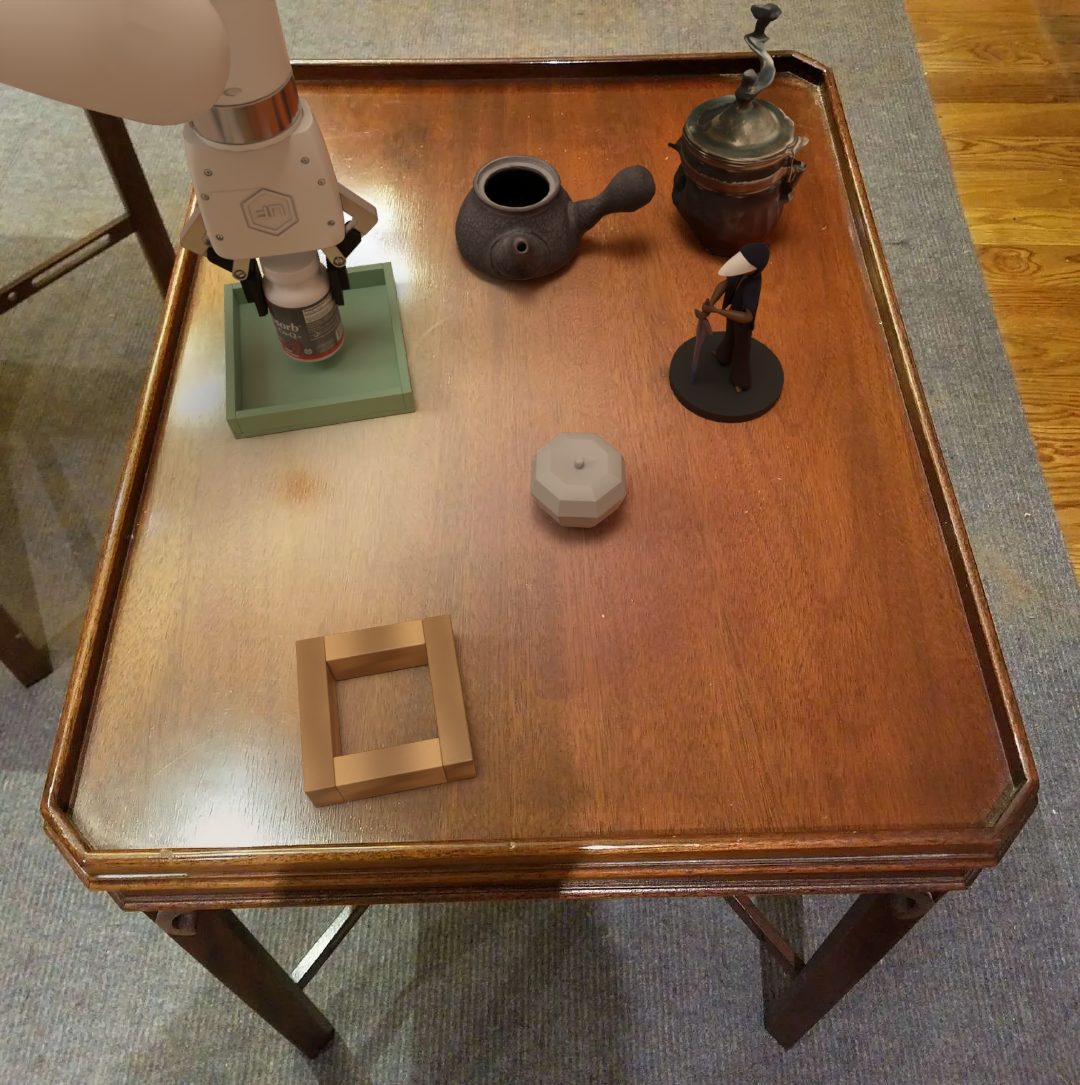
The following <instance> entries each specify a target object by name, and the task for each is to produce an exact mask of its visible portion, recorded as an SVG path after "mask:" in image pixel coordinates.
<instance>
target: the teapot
mask: <svg viewBox="0 0 1080 1085" xmlns="http://www.w3.org/2000/svg"><path fill="white" fill-rule="evenodd" d="M472 179H473V181H472V187H471V188H470V190H469V191H468V192H467V193H466V196H465V197H464V199H463V201H462V202H461V206H460V207H459V210H458V213H457V216H456V219H455V226H454V235H455V236H454V237H455V241H456V245H457V248H458V250H459V253H460V255H461V256H462V258H463V259H464V260H465V261H466V262H467V263H468V264H469V266H471V267H473V269H475V270H476V271H479V272H482V273H484V274H486V275H488V276H491V277H494V278H497V279H504V280H511V281H526V280H532V279H537V278H541V277H544V276H548V275H550V274H553V273H555V272H557V271H558V270H560V269H562V268H563V267H564V266H565V265H567V264H568V263H569V262H570V261H571V260H572V259H573V257H574V256H575V254H576V252H577V251H578V249H579V247H580V244H581V241H582V238H583V236H584V235H585V234H586V233H587V232H589V231H590V230H591V229H593V228H594V227H595V226H596V225H597V224H598V223H599V222H600V221H601V220H602V219H603V218H604V217H606V216H608V215H611V214H618V213H620V214H621V213H626V214H627V213H635V212H637V211H638V210H640V209H642V208H644V207H646V206H647V205H648V204H649V203H651V201H652V199H653V198H654V196H655V195H656V191H657V190H656V189H657V187H656V182H655V180H654V177H653V174H652V172H651V171H650V170H649V169H648V168H647V167H646V166H643V165H642V164H635V165H630V166H627V167H625V168H623V169H621V170H619V171H618V172H617V173H616V174H615V175H614V176H613V177H612V178H611V180H610V182H609V183H608V184H607V186H606V187H605V188H604V189H603V190H602V191H601V192H600V193H599V194H597V195H596V196H594V197H591V198H585V199H580V200H577V201H575V202H574V201H573V199H572V198H571V196H570V195H569V193H568V191H567V190H566V189H565V188H564V186H562V180H561V176H560V174H559V172H558V170H557V169H556V168H555V167H554V166H553V165H552V164H550V163H549V162H548V161H546V160H543V159H541V158H539V157H537V156H532V155H529V154H507V155H502V156H498V157H495V158H493V159H490V160H489V161H488V162H486V163H485V164H483V165H481V166H480V167H479V169H478V170H476V173H475V174H474V177H473V178H472Z"/></svg>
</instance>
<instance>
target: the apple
mask: <svg viewBox="0 0 1080 1085" xmlns="http://www.w3.org/2000/svg"><path fill="white" fill-rule="evenodd" d="M530 468H531V469H530V486H529V487H530V488H529V492H530V496H531V497H532V498H533V500H534V503H535V504H536V505H537V506H538V507H539V508H541V509H542V510H543V511H544V512H545V513H546V514H547V515H549V516H550V517H551V518H552V519H553V520H554V521H555V522H557V523H558V524H559V525H560V526H562V527H563V528H564V527H566V528H586V529H587V528H589V529H590V528H593V527H596V526H597V525H598V524H599V523H601V522H602V521H603V520H605V519H606V518H608V516H610V515H611V514H612V513H614V512H615V511H616V510H618V509H619V508H620V506H621V504H622V503H623V501H624V500H625V498H626V496H627V480H626V479H627V478H626V477H627V475H626V473H627V472H626V471H627V470H626V462H625V459H624V457H623V454H622V453H621V452H620V450H618V449H617V448H616V447H615V446H613V445H612V444H611V443H609V442H608V441H607V440H606V439H605V438H603V437H602V436H601V435H599V434H598V433H597V432H595V433H594V432H572V431H571V432H569V431H568V432H567V431H562V432H561V433H559V434H558V435H556V436H555V437H554V438H552V439H551V440H550V441H548V442H547V443H546V444H544V445H543V446H541V447H540V448H539V449H537V450H536V452H535V454H534V455H533V458H532V460H531V467H530Z"/></svg>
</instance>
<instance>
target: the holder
mask: <svg viewBox="0 0 1080 1085" xmlns="http://www.w3.org/2000/svg"><path fill="white" fill-rule="evenodd" d="M455 640H456V639H455V634H454V628H453V624H452V619H451V615H450V614H443V615H437V616H432V617H426V618H422V619H414V620H409V621H404V622H397V623H392V624H386V625H381V626H375V627H370V628H369V627H368V628H363V629H357V630H352V631H347V632H340V633H334V634H329V635H328V634H327V635H322V636H317V637H311V638H305V639H300V640H295V658H296V674H297V689H298V690H297V691H298V707H299V724H300V742H301V758H302V759H301V760H302V774H303V790H304V791H303V792H304V794H305V795H306V797H307V798H308V799H309V800H310V801H311V803H312V804H313V806H314V807H315V808H322V807H327V806H331V805H337V804H342V803H346V802H352V801H357V800H363V799H367V798H372V797H373V798H374V797H379V796H383V795H389V794H393V793H398V792H404V791H409V790H414V789H420V788H425V787H430V786H434V785H435V786H436V785H440V784H445V783H451V782H456V781H460V780H465V779H471V778H472V779H473V778H476V777H477V770H476V764H475V758H474V751H473V744H472V740H471V733H470V727H469V720H468V715H467V709H466V701H465V695H464V690H463V683H462V678H461V671H460V665H459V659H458V651H457V646H456V641H455ZM426 665H428V670H429V678H430V684H431V692H432V698H433V705H434V712H435V719H436V726H437V727H436V728H437V734H438V737H433V738H429V739H425V740H418V741H413V742H408V743H402V744H397V745H392V746H386V747H382V748H375V749H372V750H366V751H360V752H355V753H350V754H344V755H342V745H341V733H340V720H339V710H338V697H337V686H336V684H337V683H336V681H337V682H338V681H342V680H348V679H353V678H360V677H365V676H369V675H376V674H382V673H387V672H392V671H397V670H398V671H399V670H403V669H409V668H414V667H420V666H426Z"/></svg>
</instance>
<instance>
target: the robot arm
mask: <svg viewBox="0 0 1080 1085" xmlns="http://www.w3.org/2000/svg"><path fill="white" fill-rule="evenodd" d="M277 5H278V4H277V1H276V0H0V84H3V85H6V86H9V87H12V88H15V89H19V90H22V91H23V92H27V93H30V94H33V95H35V96H40V97H43V98H46V99H50V100H52V101H56V102H59V103H62V104H66V105H70V106H74V107H77V108H82V109H85V110H89V111H94V112H97V113H101V114H105V115H109V116H113V117H116V118H120V119H124V120H128V121H132V122H136V123H142V124H146V125H151V126H160V127H168V126H178V125H183V129H182V137H183V140H182V141H183V148H184V153H185V158H186V162H187V167H188V172H189V176H190V180H191V183H192V186H193V187H192V188H193V192H194V195H195V198H196V201H197V204H198V205H197V206H196V207H195V209H194V210H193V211H192V214H191V215H190V216H189V218H188V220H187V221H186V223H185V224H184V225H183V227H182V228H181V231H180V234H179V235H180V236H179V239H180V240H179V243H180V246H181V247H182V248H183V249H185V250H187V251H190V252H191V253H193V254H196V255H198V256H200V257H205V258H206V259H207V260H208V262H209V263H211V264H213V265H215V266H217V267H219V268H221V269H223V270H224V271H227V272H229V273H231V275H232V277H233V279H235V280H236V281H238V282H240V283H241V286H242V288H243V291H244V294H245V297H246V300H247V302H248V303H255V306H256V308H257V311H258V314H259V317H263V316H266V314H268V305H267V302H266V299H265V296H264V293H263V289H262V279H263V275H262V271H261V269H260V266H259V263H258V260H257V259H259V258H260V257H268V256H276V255H284V254H291V253H299V252H306V251H313V250H317V251H319V250H320V251H321V252H322V253H323V254H324V256H325V266H326V268H327V272H328V277H329V281H330V284H331V288H332V292H333V296H334V300H335V304H336V305H338V306H343V305H344V296H343V290H349V289H350V283H349V277H348V273H347V269H346V268H347V259H348V258H349V257H350V255H351V254H352V253H353V252H354V251H355V249H356V248H357V247H359V245H360V244H361V242H362V238H364V236H366V235H367V234H368V233H369V232H370V231H371V230H372V229H374V227H375V226H376V225H377V224H378V222H379V215H378V209H377V207H376V206H374V204H372V203H370V202H369V201H368V200H366V199H364V198H363V197H361V196H360V195H359V194H356V193H355V192H354V191H352V190H351V189H350V188H347V187H346V186H345V185H343V184H342V183H340V182H339V181H338V179H337V176H336V172H335V168H334V165H333V162H332V159H331V155H330V152H329V149H328V146H327V143H326V140H325V138H324V135H323V132H322V129H321V128H320V124H319V123H318V120H317V119H316V116H315V113H314V111H313V110H312V108H311V105H310V104H309V103H308V101H307V100H306V99H305V98H304V97H302V96H300V95H299V92H298V88H297V84H296V80H295V75H294V71H293V67H292V64H291V60H290V56H289V52H288V48H287V47H288V46H287V43H286V39H285V35H284V31H283V27H282V22H281V19H280V15H279V10H278V6H277ZM344 213H345V214H347V216H350V217H351V220H350V219H349V220H347V221H346V222H345V214H344Z"/></svg>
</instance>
